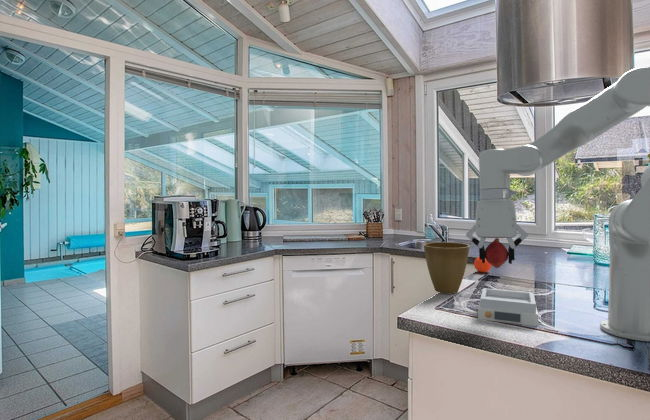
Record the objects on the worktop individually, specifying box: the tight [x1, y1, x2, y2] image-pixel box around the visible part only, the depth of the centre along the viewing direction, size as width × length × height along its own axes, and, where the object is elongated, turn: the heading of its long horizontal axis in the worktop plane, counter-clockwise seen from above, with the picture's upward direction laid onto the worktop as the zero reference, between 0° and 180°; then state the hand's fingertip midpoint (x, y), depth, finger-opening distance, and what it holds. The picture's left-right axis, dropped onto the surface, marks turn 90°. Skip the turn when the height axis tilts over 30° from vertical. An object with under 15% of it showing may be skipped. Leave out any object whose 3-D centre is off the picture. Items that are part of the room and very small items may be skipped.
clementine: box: [473, 256, 492, 274], centre depth 168 cm, size 8×7×7 cm
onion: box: [485, 238, 508, 269], centre depth 106 cm, size 6×6×8 cm
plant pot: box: [423, 241, 470, 295], centre depth 134 cm, size 15×15×16 cm
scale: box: [477, 287, 539, 327], centre depth 107 cm, size 14×14×5 cm
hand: (496, 262), depth 106 cm, fingers closed on onion, 5 cm apart
